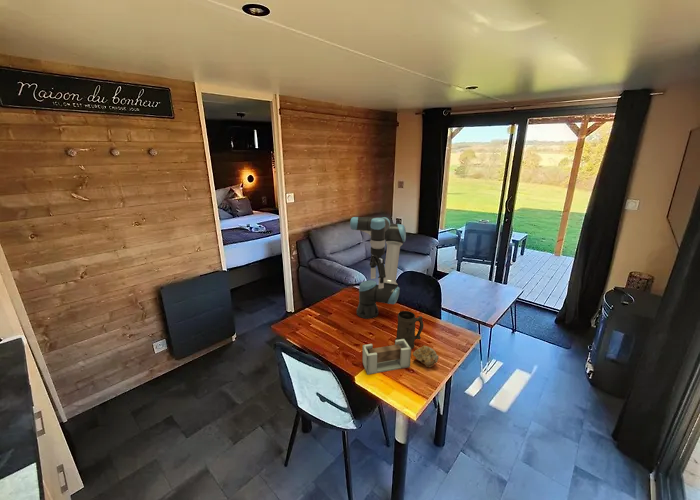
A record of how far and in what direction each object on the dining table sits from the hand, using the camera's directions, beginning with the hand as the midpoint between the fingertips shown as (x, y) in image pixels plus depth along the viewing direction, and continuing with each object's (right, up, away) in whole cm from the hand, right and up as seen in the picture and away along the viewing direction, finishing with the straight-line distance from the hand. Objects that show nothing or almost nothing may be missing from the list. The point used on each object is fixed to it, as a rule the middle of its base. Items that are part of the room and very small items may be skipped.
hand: (376, 283), depth 167 cm
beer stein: (+19, -36, +6) cm, 41 cm away
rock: (+24, -41, -11) cm, 49 cm away
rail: (+3, -38, -13) cm, 40 cm away
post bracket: (+4, -42, -12) cm, 43 cm away
